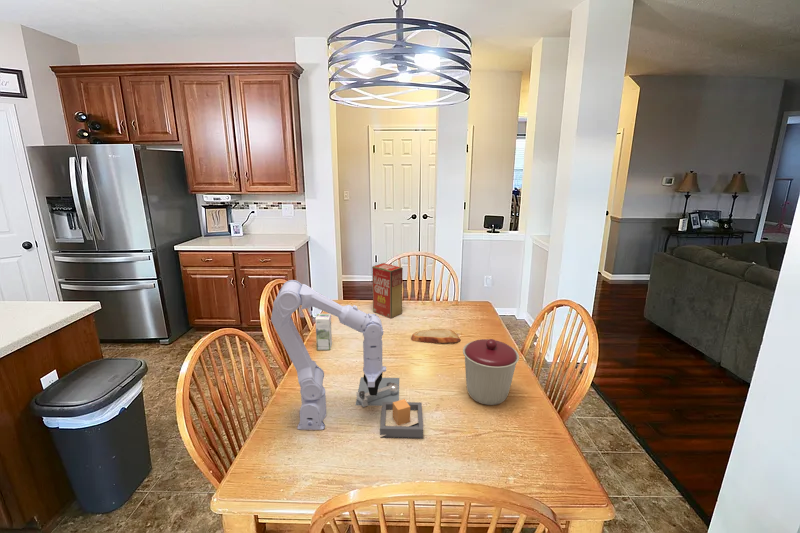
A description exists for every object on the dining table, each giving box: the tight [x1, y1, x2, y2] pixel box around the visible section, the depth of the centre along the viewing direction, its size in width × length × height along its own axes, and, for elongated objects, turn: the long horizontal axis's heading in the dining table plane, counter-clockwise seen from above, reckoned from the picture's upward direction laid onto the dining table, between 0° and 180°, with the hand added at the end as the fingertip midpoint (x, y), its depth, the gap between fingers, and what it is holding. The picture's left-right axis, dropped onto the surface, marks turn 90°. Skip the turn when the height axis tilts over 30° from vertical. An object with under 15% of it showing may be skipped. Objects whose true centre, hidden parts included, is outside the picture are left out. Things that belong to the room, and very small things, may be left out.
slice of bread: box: [410, 328, 461, 345], centre depth 169 cm, size 18×18×4 cm
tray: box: [379, 401, 424, 440], centre depth 115 cm, size 12×12×3 cm
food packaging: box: [371, 262, 403, 319], centre depth 194 cm, size 13×9×25 cm
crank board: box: [355, 376, 400, 407], centre depth 130 cm, size 16×14×2 cm
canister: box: [462, 338, 520, 406], centre depth 127 cm, size 18×18×21 cm
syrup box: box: [314, 313, 333, 351], centre depth 159 cm, size 6×6×14 cm
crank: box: [356, 383, 398, 408], centre depth 126 cm, size 14×5×4 cm, turn 119°
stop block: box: [392, 398, 411, 426], centre depth 115 cm, size 4×4×6 cm
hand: (373, 394), depth 118 cm, fingers closed
